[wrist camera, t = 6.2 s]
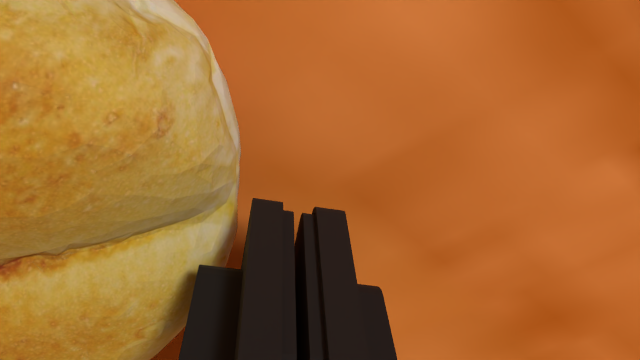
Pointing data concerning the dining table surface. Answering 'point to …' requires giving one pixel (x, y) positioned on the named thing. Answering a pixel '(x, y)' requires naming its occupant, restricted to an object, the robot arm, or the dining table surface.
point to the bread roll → (108, 176)
